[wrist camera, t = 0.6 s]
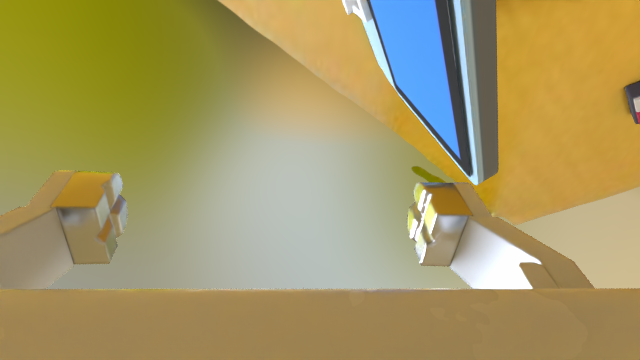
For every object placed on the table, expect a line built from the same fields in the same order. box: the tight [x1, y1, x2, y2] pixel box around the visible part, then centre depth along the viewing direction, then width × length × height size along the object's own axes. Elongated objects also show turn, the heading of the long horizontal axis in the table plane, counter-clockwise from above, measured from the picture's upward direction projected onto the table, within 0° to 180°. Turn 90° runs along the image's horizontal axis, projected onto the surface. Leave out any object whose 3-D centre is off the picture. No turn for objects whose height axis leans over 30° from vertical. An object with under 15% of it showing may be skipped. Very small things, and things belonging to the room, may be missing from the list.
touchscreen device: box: [342, 0, 498, 185], centre depth 48 cm, size 35×20×30 cm, turn 20°
